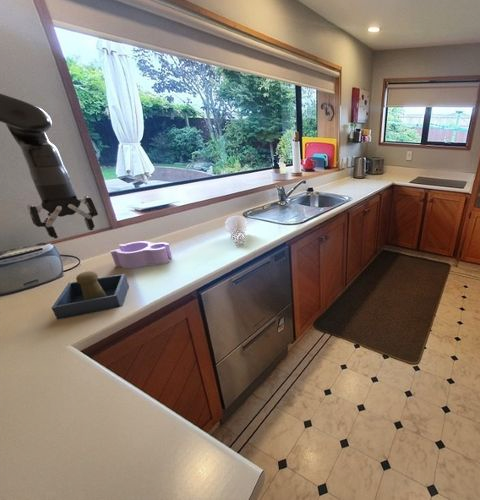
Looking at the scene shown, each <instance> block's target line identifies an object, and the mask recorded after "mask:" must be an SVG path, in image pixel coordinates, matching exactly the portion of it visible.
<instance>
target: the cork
mask: <svg viewBox="0 0 480 500" xmlns="http://www.w3.org/2000/svg"><path fill="white" fill-rule="evenodd" d="M98 278H99V275H98V273H96V271H91V270H87V271H83V272H81V273H79V274H77V275H76V278H75V280H76V282H78V283H79V284H80V285H81V288H82V293H83V297H84V301H85V300H90V299H96V298H101V297H106V296H107V295H106V294H105V292H104V291H103V289H102V287H101V286H100V284H99V283H98V281H97V279H98Z"/></svg>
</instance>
